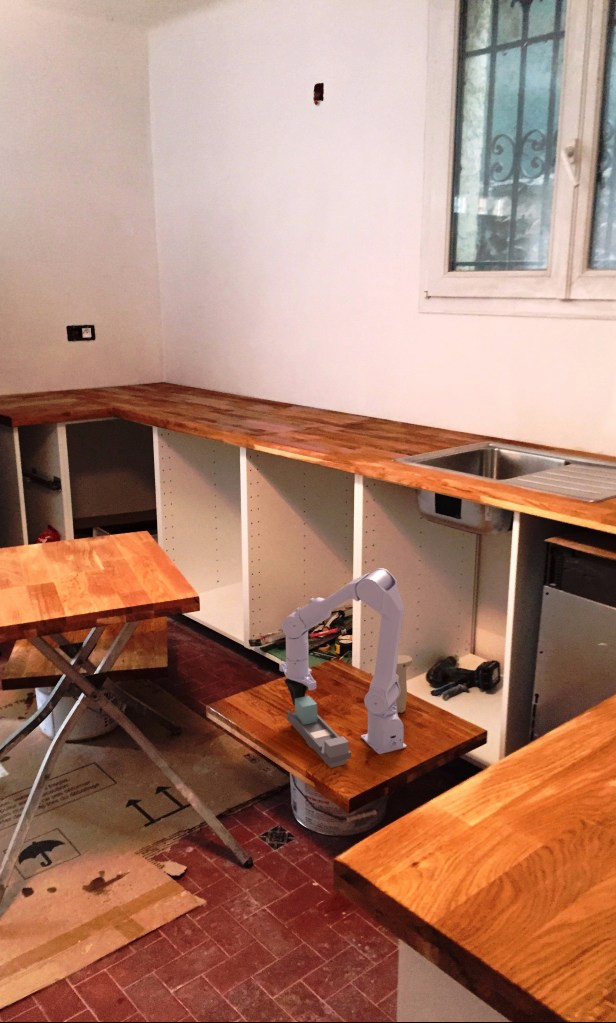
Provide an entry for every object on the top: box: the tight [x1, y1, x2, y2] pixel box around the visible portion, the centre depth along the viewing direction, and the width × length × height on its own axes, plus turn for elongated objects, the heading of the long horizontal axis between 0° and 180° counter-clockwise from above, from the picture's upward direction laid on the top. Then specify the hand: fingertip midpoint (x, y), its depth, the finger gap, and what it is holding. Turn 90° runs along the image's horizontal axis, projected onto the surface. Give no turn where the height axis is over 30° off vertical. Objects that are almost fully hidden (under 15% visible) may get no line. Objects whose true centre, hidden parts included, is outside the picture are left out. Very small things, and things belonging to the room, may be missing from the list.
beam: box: [286, 710, 352, 769], centre depth 212 cm, size 24×6×6 cm, turn 25°
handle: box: [396, 654, 413, 714], centre depth 227 cm, size 5×6×15 cm
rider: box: [294, 695, 318, 725], centre depth 218 cm, size 5×4×5 cm
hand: (297, 704), depth 223 cm, fingers closed
